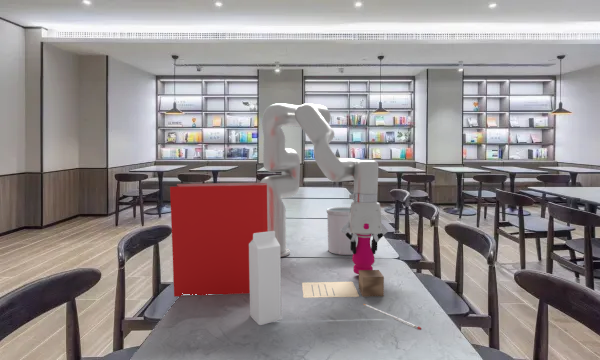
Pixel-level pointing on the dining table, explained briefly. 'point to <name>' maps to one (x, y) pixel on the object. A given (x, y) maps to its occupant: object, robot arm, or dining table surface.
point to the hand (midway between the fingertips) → (363, 252)
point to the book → (215, 235)
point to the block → (371, 283)
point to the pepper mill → (363, 253)
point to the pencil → (395, 318)
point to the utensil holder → (338, 231)
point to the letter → (329, 289)
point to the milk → (265, 278)
